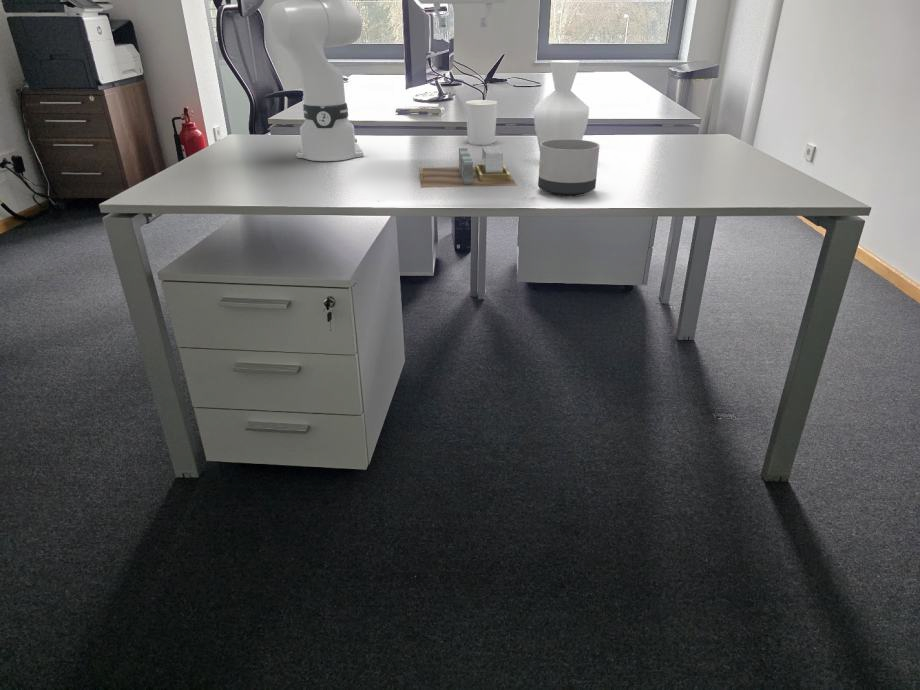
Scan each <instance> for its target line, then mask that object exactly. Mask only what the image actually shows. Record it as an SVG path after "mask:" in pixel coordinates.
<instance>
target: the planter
mask: <svg viewBox="0 0 920 690" xmlns="http://www.w3.org/2000/svg"><path fill="white" fill-rule="evenodd" d="M600 148H601V147H600V144H599V143H597V142H595V141H590V140H585V139H582V140H576V139H557V140H548V141H544V142H542V143H541V144H540V150H539V162H538V164H539V166H538V181H537V186H538V188H539V189H540V190H543V191H544V192H546V193H547V194H549V195H552V196H557V197H566V198H567V197H568V198H569V197H571V198H572V197H579V196H582V195H586V194H588V193H589V192H593V191H594V190H596V185H597V175H598V165H599V154H600Z"/></svg>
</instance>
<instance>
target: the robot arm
mask: <svg viewBox="0 0 920 690" xmlns="http://www.w3.org/2000/svg"><path fill="white" fill-rule="evenodd" d="M417 1H418V2H419V4H421V5H423V4H424V5H430V4H432V5H433V10H434V13H435V14H436V16H437V18H438V27H439V28H446V26H447V25H446V22H447V21H446V18H445V17H442V15H441V13H440V11H439V10H441V4H443V5H444V4H445V5H446V4H448V5H449V4H451V5H452V4H454V5H456V4H461V5H462V4H469V5H470V4H475V5H476V4H484V9H485V10H486V12H485V14H484V16H483V17H480V18H479V22H480V23H479V27H481V28H485V27H488V18H489V17H490V14H491V12H492V10H493V4H501V5H502V4H506V3H507V2H508V0H417ZM267 21H268V28H269V31H270V34H271V37H272V38H273V39H274V41H275V42H276V43H277V44H278V45H280V46H281V47H282V48H283V49H284V50H286V52H287V53H288V54H289V56H290V57H291V58H292V61H294V63H295V66H296V67H297V71H298V74H299V77H300V82H301V88H302V95H303V105H302V112H303V118H304V122H303V123H301V125H300V126H299V131H300V143H301V151H299V152H296V158H298V159H305V160H309V161H313V162H314V161H315V162H336V161H337V162H338V161H344V160H349V159H354V158H359V157H364V155H365V154H364V151H363V150H362V148H361V147H360V146H359V144H358V140H357V137H356V136H355V134H356V133H355V127H354V125H353V123H352V122H351V121H350V120H349V118H348V117H349V109H348V104H347V102H346V96H345V85H344V82H345V81H344V75H343V73H342V70H340V68H338V66H336V65H334V64H333V63H331V62H330V61H328V59H327V57H326V54H325V52H324V48H336V47H340V48H341V47H345V46H347V45H351V44H354V43H355V42H357V41H358V40H359V39H360V37H361V35H362V31H363V19H362V15H361V14H360V11H359V9H358V8H357V7H356V5H355V4H353V3H352V2H350V1H348V0H283V1H280V2H276V3H274V4H272V6H271V9H270V10H269V14H268V20H267Z"/></svg>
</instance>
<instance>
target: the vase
mask: <svg viewBox="0 0 920 690" xmlns="http://www.w3.org/2000/svg"><path fill="white" fill-rule="evenodd" d="M580 63H581V61H580V60H566V59H564V60H560V59H559V60H558V59H557V60H550V61H549V65H550V70H551V75H552V81H553V86H554V91H552V92H551V93H549V95H547V96H546V97H545V98H543V99H542V100H541V101H540V102H539V103H537V104H536V105H535V106H534V113H533V122H534V129H535V135H536V138H537V144H538V149H539V151H540V144H541V143H542V142H544V141H548V140H557V139H576V140H583V138H584V135H585V132H586V130H587V127H588V121H589V115H590V107H589V105H587V104H586V103H585V102H584V101H583V100H582V99H581V98H580V97H578V96H577V95H576V94H575V93H574V92H573V91H572V88H573V84H574V81H575V78H576V75H577V72H578V71H579V70H578V69H579V67H580Z"/></svg>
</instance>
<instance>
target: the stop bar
mask: <svg viewBox="0 0 920 690" xmlns="http://www.w3.org/2000/svg"><path fill="white" fill-rule="evenodd" d="M481 151H482V152H481V160H482V161H481V164H482V173H483V174H503V164H504V152H503V151H502V149H501V147H500V146H482V148H481Z"/></svg>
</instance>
